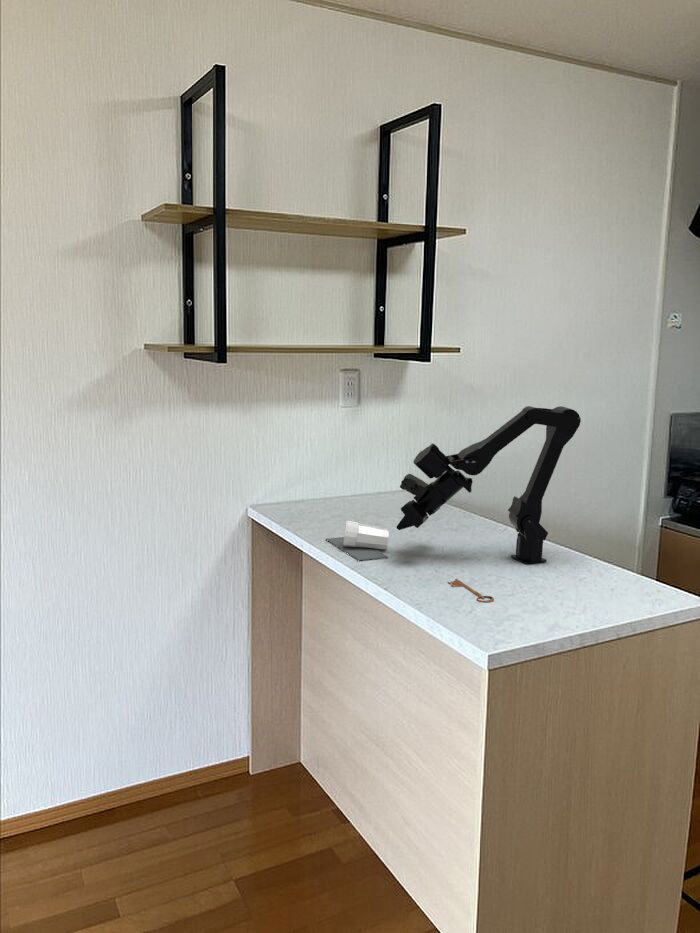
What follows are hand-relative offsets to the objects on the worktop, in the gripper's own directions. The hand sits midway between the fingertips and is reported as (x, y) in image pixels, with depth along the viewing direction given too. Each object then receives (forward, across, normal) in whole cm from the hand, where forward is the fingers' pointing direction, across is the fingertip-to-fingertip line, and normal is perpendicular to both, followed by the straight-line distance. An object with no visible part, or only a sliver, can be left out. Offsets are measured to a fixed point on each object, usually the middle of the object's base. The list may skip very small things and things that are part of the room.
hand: (397, 528), depth 208 cm
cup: (+5, -2, +1) cm, 5 cm away
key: (-11, +21, +21) cm, 32 cm away
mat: (+12, +1, -3) cm, 12 cm away
